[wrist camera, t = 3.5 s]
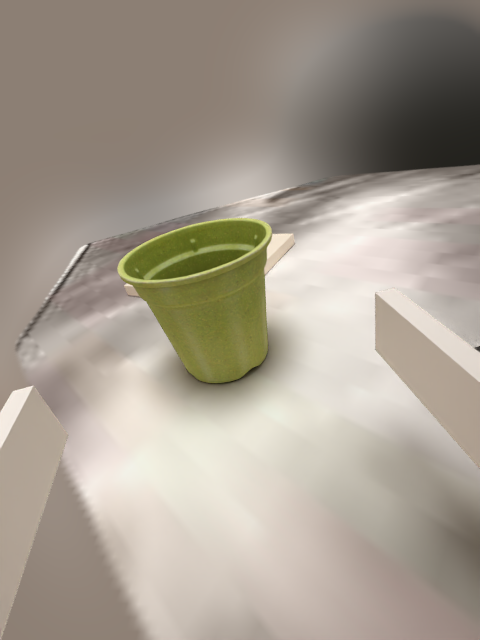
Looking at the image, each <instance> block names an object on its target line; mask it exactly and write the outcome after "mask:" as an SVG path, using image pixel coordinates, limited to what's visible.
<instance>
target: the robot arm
mask: <svg viewBox="0 0 480 640" xmlns="http://www.w3.org/2000/svg"><path fill="white" fill-rule="evenodd" d="M375 350H376V351H377V352H378V353H379V354H380V356H381V357H382V358H383V359H384V360H385V361H386V362H387V364H388V365H389V366H390V367H391V368H392V369H393V370H394V372H395V373H396V374H397V375H398V376H399V377H400V378H401V380H402V381H403V382H404V383H405V384H406V385H407V386H408V388H409V389H410V390H411V391H412V392H413V393H414V394H415V396H416V397H417V398H418V399H419V400H420V401H421V402H422V403H423V405H424V406H425V407H426V408H427V409H428V410H429V411H430V413H431V414H432V415H433V416H434V417H435V418H436V419H437V421H438V422H439V423H440V424H441V425H442V426H443V427H444V429H445V430H446V431H447V432H448V433H449V434H450V435H451V437H452V438H453V439H454V440H455V441H456V442H457V443H458V445H459V446H460V447H461V448H462V449H463V450H464V451H465V453H466V454H467V455H468V456H469V457H470V458H471V459H472V460H473V462H474V463H475V464H476V465H477V466H478V467H479V468H480V346H479V347H475V348H473V347H472V346H471V345H469V344H468V343H467V342H465V341H464V340H463V339H461V338H460V337H459V336H457V335H456V334H455V333H454V332H452V331H451V330H450V329H448V328H447V327H446V326H444V325H443V324H442V323H440V322H439V321H438V320H436V319H435V318H434V317H433V316H431V315H430V314H429V313H427V312H426V311H425V310H423V309H422V308H421V307H419V306H418V305H417V304H415V303H414V302H413V301H411V300H410V299H409V298H408V297H406V296H405V295H404V294H402V293H401V292H400V291H398V290H397V289H396V288H391V289H387V290H384V291H380V292H376V293H375ZM67 438H68V434H67V432H66V431H65V430H64V428H63V427H62V425H61V424H60V422H59V421H58V420H57V418H56V417H55V415H54V414H53V413H52V411H51V410H50V408H49V407H48V405H47V404H46V403H45V401H44V400H43V398H42V397H41V395H40V394H39V393H38V391H37V390H36V388H35V387H34V386H30V387H27V388H23V389H19V390H16V391H13V392H12V394H11V395H10V397H9V399H8V401H7V402H6V404H5V406H4V407H3V409H2V411H1V412H0V640H1V638H2V635H3V632H4V629H5V626H6V623H7V620H8V616H9V614H10V611H11V608H12V605H13V602H14V599H15V596H16V593H17V590H18V587H19V583H20V580H21V577H22V575H23V571H24V568H25V565H26V562H27V559H28V556H29V553H30V550H31V547H32V544H33V541H34V538H35V535H36V532H37V529H38V526H39V523H40V520H41V517H42V514H43V511H44V508H45V505H46V501H47V498H48V496H49V493H50V490H51V487H52V484H53V481H54V478H55V474H56V471H57V468H58V465H59V462H60V459H61V456H62V453H63V450H64V447H65V444H66V441H67Z"/></svg>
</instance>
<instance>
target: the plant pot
mask: <svg viewBox="0 0 480 640" xmlns="http://www.w3.org/2000/svg"><path fill="white" fill-rule="evenodd" d="M271 239H272V229H271V227H270V226H269V225H268V224H267V223H265V222H263V221H260V220H257V219H249V218H232V219H220V220H214V221H208V222H202V223H197V224H193V225H190V226H186V227H183V228H180V229H177V230H173V231H171V232H168V233H166V234H163V235H160V236H158V237H156V238H153V239H151V240H149V241H147V242H145V243H143V244H142V245H140V246H138V247H137V248H135V249H134V250H132V251H131V252H129V253H128V254H127V255H125V256H124V257H123V259H121V261H120V262H119V265H118V273H119V275H120V277H121V279H122V280H123V281H125V282H126V283H128V284H130V285H133V287H134V289H135V290H136V292H137V293H138V295H139V296H140V297H141V298H142V299H143V300H144V301H146V302H147V304H148V305H149V307H150V308H151V310H152V312H153V313H154V315H155V317H156V318H157V320H158V322H159V324H160V325H161V327H162V329H163V330H164V332H165V334H166V335H167V337H168V339H169V340H170V342H171V344H172V345H173V347H174V349H175V350H176V352H177V354H178V355H179V357H180V359H181V361H182V362H183V364H184V366H185V368H186V369H187V371H188V372H189V373H191V374H192V375H193V376H194V377H195V378H197V379H198V380H200V381H203V382H208V383H223V382H229V381H233V380H236V379H239V378H241V377H243V376H244V375H245V374H246V373H247V372H248V371H249V370H250V369H252V368H253V367H256V366H259V365H260V364H261V363H262V362H263V361H264V359H265V357H266V355H267V352H268V341H267V321H266V297H265V273H264V267H265V265H266V262H267V247H268V245H269V243H270V242H271Z"/></svg>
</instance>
